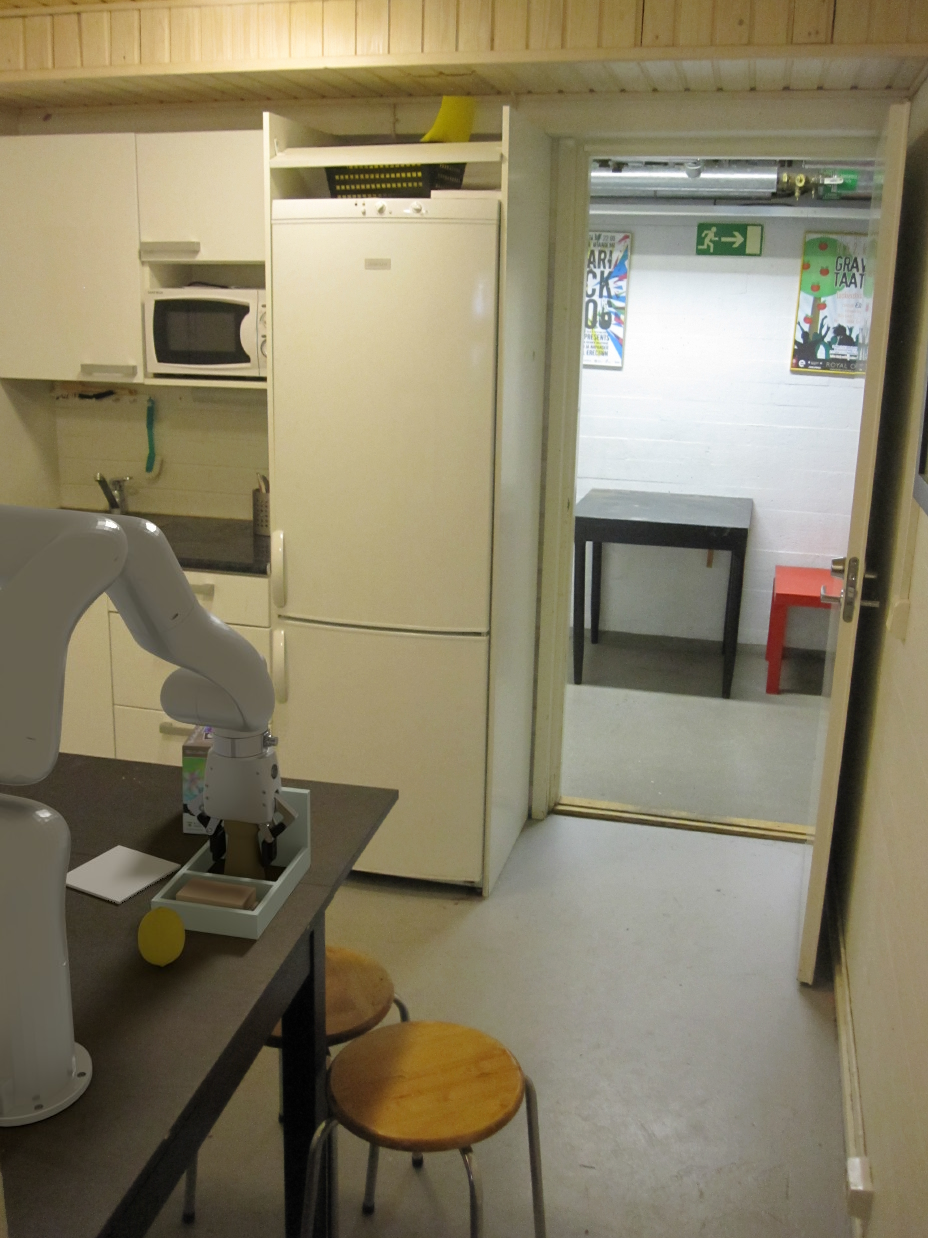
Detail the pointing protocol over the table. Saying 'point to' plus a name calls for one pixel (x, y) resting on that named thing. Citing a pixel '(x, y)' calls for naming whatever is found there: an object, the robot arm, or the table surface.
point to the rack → (246, 879)
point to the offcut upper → (217, 894)
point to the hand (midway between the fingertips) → (243, 859)
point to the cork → (243, 850)
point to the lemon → (161, 936)
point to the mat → (119, 874)
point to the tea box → (194, 773)
